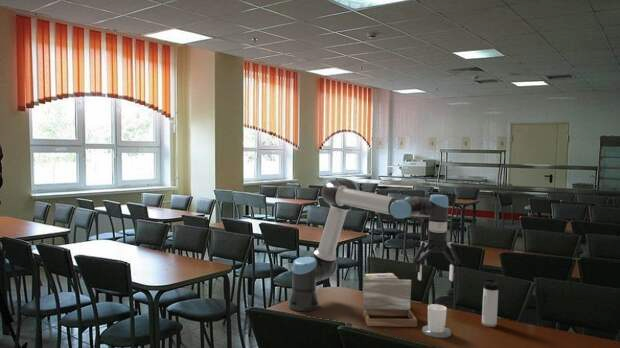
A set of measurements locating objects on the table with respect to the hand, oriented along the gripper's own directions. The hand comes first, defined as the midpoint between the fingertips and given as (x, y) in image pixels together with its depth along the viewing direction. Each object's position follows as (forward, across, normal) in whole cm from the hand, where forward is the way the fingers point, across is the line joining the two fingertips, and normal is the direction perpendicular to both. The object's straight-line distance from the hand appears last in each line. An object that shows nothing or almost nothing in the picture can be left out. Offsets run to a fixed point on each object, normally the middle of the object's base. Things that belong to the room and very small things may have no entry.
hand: (435, 280), depth 200 cm
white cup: (+22, +1, -1) cm, 22 cm away
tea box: (+23, -16, +34) cm, 44 cm away
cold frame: (+23, -17, +12) cm, 31 cm away
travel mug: (+23, +28, +9) cm, 38 cm away
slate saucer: (+23, +1, -1) cm, 23 cm away
